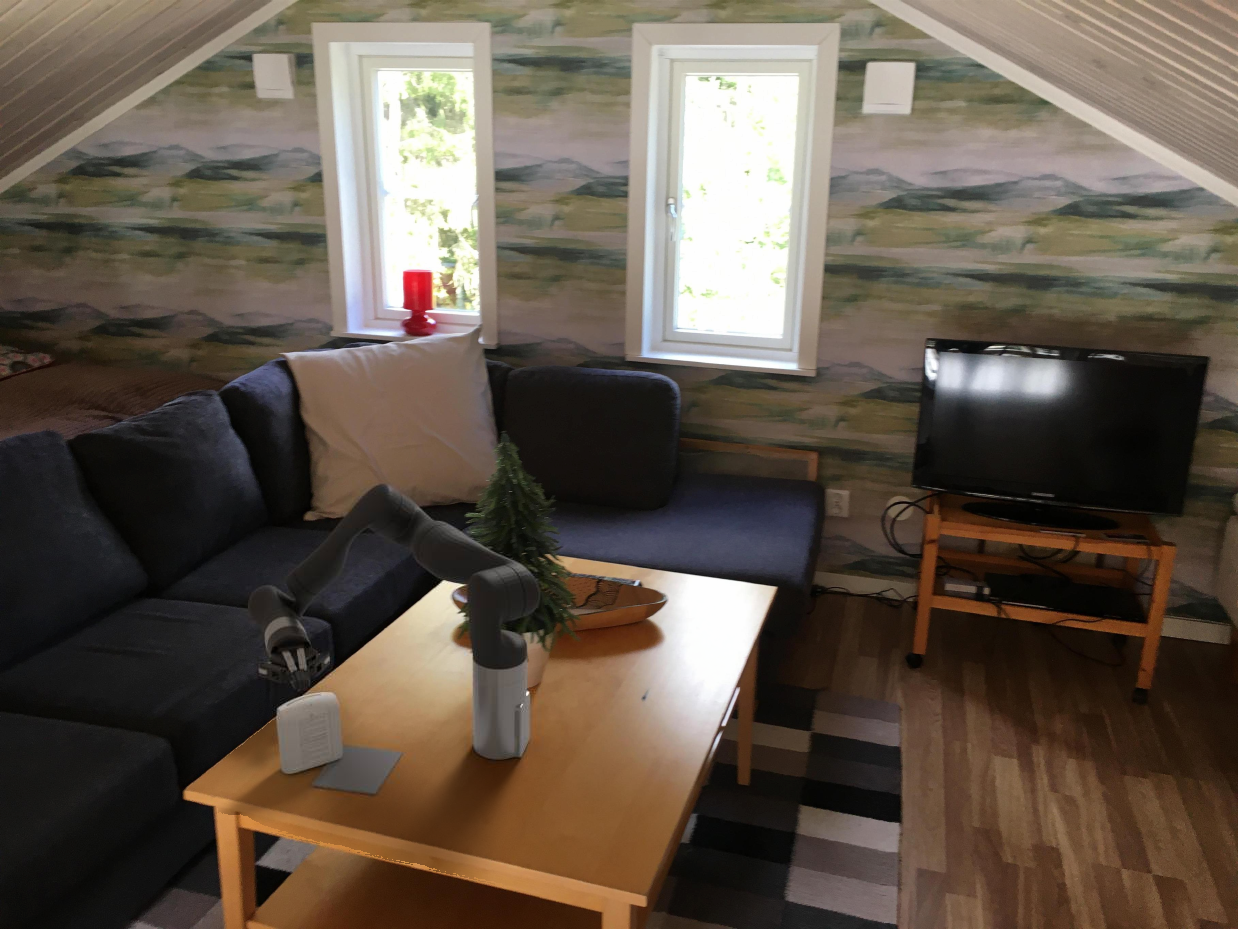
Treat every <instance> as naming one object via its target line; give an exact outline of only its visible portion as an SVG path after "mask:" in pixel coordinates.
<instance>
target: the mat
mask: <svg viewBox="0 0 1238 929" xmlns="http://www.w3.org/2000/svg"><path fill="white" fill-rule="evenodd" d="M342 749H343V756H342V758H340V759H338V760H335V761H332V762H329V763H326V764H325V766H324V767H323V769H321V771H320V772H319V774H318V775H317V776H316V777H315V779H314V780H313V781H312V783H311V784H310V787H313V786H316V787H315V788H320V787H326V788H325V789H328V788H330V789H329V790H335V789H337V791H343V792H350V793H360V794H367V795H372V794H373V795H374V796H376V795H377V794H378V792H379V791H380V789H381V788H382V786H383V784H384V783H385V781H386V780H387V779H388V777H389V775H390V774H391V772H392V771H393V769H394V768H395V767H396V765H397V763H398V762H399V760H400V759H401V757H402V755H403V754H404V752H403V751H398V750H388V749H381V748H373V747H366V746H357V745H350V744H343V743H342ZM373 795H372V796H373Z"/></svg>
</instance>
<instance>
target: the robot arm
mask: <svg viewBox="0 0 1238 929" xmlns="http://www.w3.org/2000/svg"><path fill="white" fill-rule="evenodd" d="M366 529H369V530H371V531H373V532H374V533H375V534H377V535H378V536H380V537H382V538H384V539H385V540H387V541H389V542H391V543H393V544H396V545H398V546H401V547H403V548H404V549H407V550H409V551H410V552H411V553H412V555H413V556H412V557H413V558H414V559H415V561H416V563H418V564H419V565H420V566H421V567H422V568H423V569H425V570H426V571H428V573H430V574H431V575H433V576H434V577H436V578H437V579H440V580H442V581H445V582H448V583H454V584H457V585H459V584H460V585H463V586H465V585H466V586H467V587H466V603H467V604H466V605H467V614H468V615H467V616H468V618H467V619H468V633H469V636H468V637H469V641H470V645H471V651H472V652H471V653H472V721H473V722H472V723H473V724H472V727H473V730H472V732H473V734H472V740H473V750H474V752H476V753H477V754H478V755H479V756H481V757H483V758H486V759H490V760H506V759H507V760H508V759H511V758H522V757H523V755H524V752H525V750H526V748H527V745H528V744H529V742H530V738H531V736H530V732H531V725H530V724H531V707H530V706H531V691H528V643H527V641H526V639H525V638H524V637H523V636H522V635H521V634H519V633H516V632H514V631H509V630H507V629H502V626H501V624H502V623H505V622H508V621H512V620H515V619H518V618H522V617H524V616H525V617H526V616H529V615H531V614H532V613H533V612H534V611H535V610H536V609H537V608H538V606H539V604H540V600H541V589H540V586H539V584H538V580H536V578H535V576H534V575H533V573H532V572H531V570H529V569H528V568H527V567H526V566H525V565H523V564H522V563H520V562H518V561H515V560H513V559H510V558H509V557H506V556H504V555H501V554H499V553H496V552H495V551H493V550H491V549H490V548H487V547H486V546H484V545H483V544H481V543H480V542H477V541H476V540H474V539H472V538H471V537H469V536H468V535H467V534H465V533H464V532H463V531H461V530H460V529H458V528H457V527H455V526H454V525H451V524H449V523H448V522H445V521H442V520H434V519H432V518H431V516H429V515H428V514H427V513H426V512H425V511H424V509H422V508H421V507H420V506H419V505H418V504H417V503H416V502H414V501H413V499H411V498H410V497H408V496H406V495H405V494H403V493H402V492H400V491H399V490H398V489H396V487H393V486H391V485H390V484H387V483H379V484H376V485H374V486H373V487H371V488H370V489H369V490H368V491H366V492H365V493H364V494H363V495H362V496H361V498H359V499H358V500H357V502H356V503H355V504H354V505H353V507H352V508H350V510H349V511H348V512H347V513H346V515H345V516H344V517H343V518H342V519H341V520H340V522H339V523H338V524H337V525H336V527H335V528H334V529H333V530H332V532H331V533H330V534H329V535H328V536H327V537H326V538H325V540H324V541H323V542H322V543H320V545H319V546H318V548H316V549H315V550H314V551H313V552H312V553H311V554H310V555H309V556H308V557H307V558H306V559H304V560H303V561H301V563H300V564H298V565H297V566H296V567H295V568H294V569H293V570H291V571H290V572H289V573H288V575H287V576H286V579H285V583H286V584H285V585H286V587H287V589H288V591H289V592H290V593H291V594H292V596H293V597H294V598H293V597H291V596H289V595H288V594H286V593H285V592H283V591H282V590H280V589H279V588H278V587H276V586H274V585H271V584H269V585H262V586H259V587H257V588H256V589H255V590H254V591H253V592H252V593H251V595H250V597H249V599H248V604H247V609H248V613H249V616H250V617H251V619H252V620H253V621H254V622H255V623H256V624H255V625H257V626H258V627H259V628H260V630H261V631H262V633H263V636H264V644H265V649H266V651H267V654H268V657H269V658H268V661H267V662H266V661H260V662H258V674H259V677H260V678H263V679H266V680H270V681H272V682H276V683H279V684H286V683H287V682H290V683H291V685H292V688H293V689H294V690H297V691H298V692H304V691H308V688H309V687H311V679H310V678H312V679H314V678H315V679H316V678H317V677H318V676H319V675H320V674H321V673H322V672H324V670H326V669H327V667H329V665H331V657H330V651H329V650H323V651H322V652H321V653H319V652H318V651H317V650H316V649H314V648H313V647H312V644H311V641H310V640H309V636H308V635H307V632H306V630H305V628H304V626H303V625H302V623H301V622H300V620H301V619H302V617H303V615H304V614H305V612H306V611H307V609H308V608H309V606H310V605H311V603H312V602H313V601H314V600H315V598H317V596H319V595H320V594H321V593H322V592H323V591H325V590H326V589H327V588H328V587H329V586H330V585H332V584H333V583H334V582H335V581H336V580H337V579H338V577H339V576H340V574H341V573H342V572H343V569H344V567H345V564H346V560H347V557H348V553H349V550H350V547H351V545H352V543H353V541H354V539H355V538H356V537H358V535H360V534H361V533H362V532H363V531H365V530H366Z"/></svg>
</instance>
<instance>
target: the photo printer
mask: <svg viewBox="0 0 1238 929" xmlns="http://www.w3.org/2000/svg"><path fill="white" fill-rule="evenodd" d="M340 715H341V714H340V705H339V702H338V698H337V696H336V695H335V694H334V692H329V691H328V692H326V691H325V692H322V691H321V692H314V693H309V694H306V695H305V694H304V695H302V696H298V697H295V698H293V699H291V700H289V701H287V702H285V703H283V704H282V705H280V706H278V707H277V709H276V729H277V738H278V740H277V741H278V748H279V756H280V766H281V768H280V769H281V771H282V772H283V773H284V774H286V775H293V774H295V773H300V772H301V771H306V770H309V769H314V768H315V767H319V766H322V765H327V763H329V762H332V761H335V760H338V759H340V758H342V756H343V749H342V744H343V739H342V738H343V737H342V730H341V728H342V727H341V716H340Z"/></svg>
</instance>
